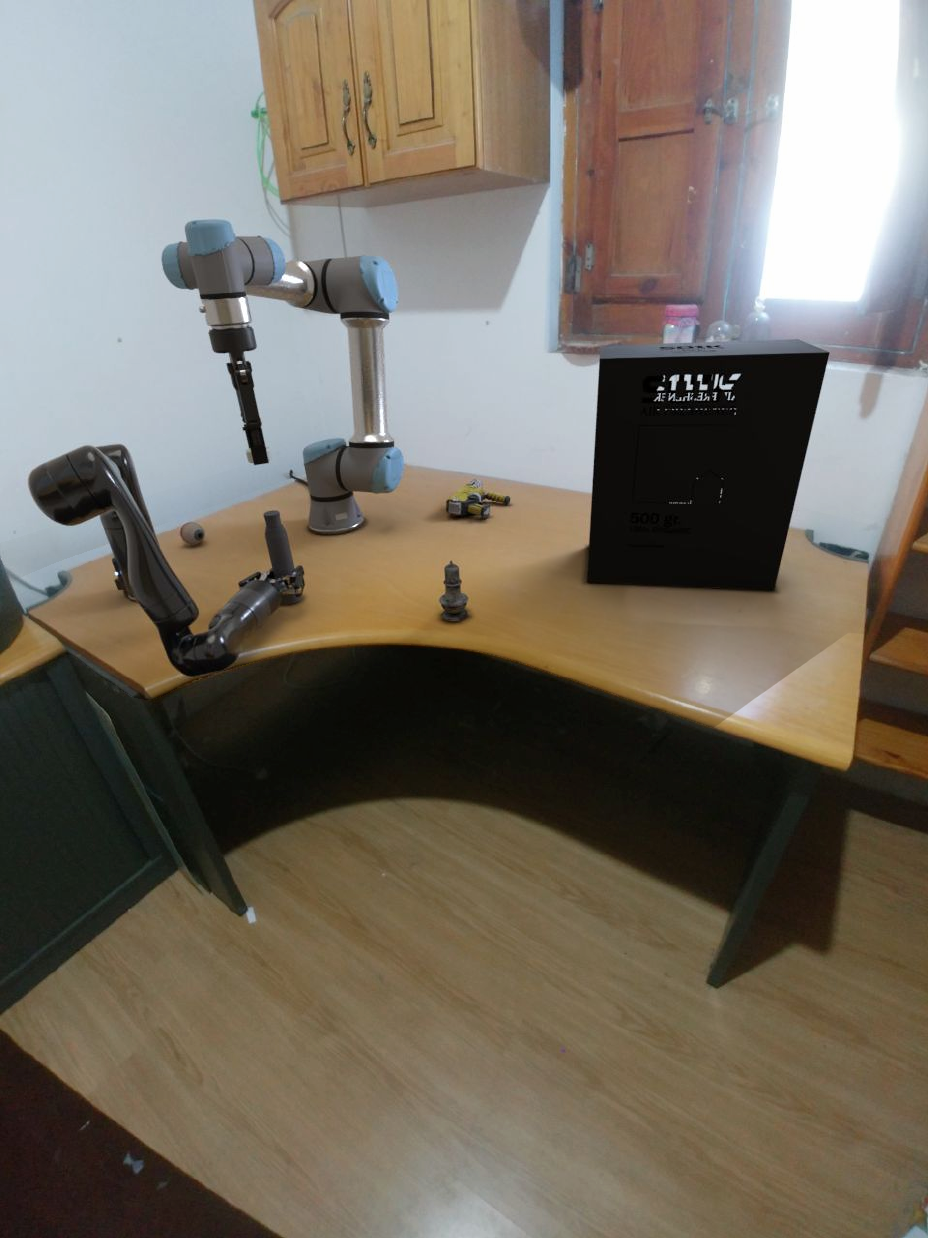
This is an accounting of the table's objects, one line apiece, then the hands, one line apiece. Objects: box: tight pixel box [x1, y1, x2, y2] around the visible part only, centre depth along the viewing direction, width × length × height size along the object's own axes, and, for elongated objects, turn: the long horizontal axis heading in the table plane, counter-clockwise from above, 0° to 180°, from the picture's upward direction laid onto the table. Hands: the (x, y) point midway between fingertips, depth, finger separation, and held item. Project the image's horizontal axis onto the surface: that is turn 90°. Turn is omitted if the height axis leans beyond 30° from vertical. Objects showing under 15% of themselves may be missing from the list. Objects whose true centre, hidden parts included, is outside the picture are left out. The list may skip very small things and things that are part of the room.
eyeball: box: [179, 521, 206, 546], centre depth 161 cm, size 6×6×6 cm
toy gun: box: [445, 478, 511, 520], centre depth 176 cm, size 5×24×15 cm
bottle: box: [262, 509, 302, 606], centre depth 126 cm, size 4×4×20 cm
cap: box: [245, 446, 272, 464], centre depth 116 cm, size 4×4×2 cm
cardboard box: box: [586, 338, 831, 592], centre depth 124 cm, size 38×20×45 cm, turn 78°
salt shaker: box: [438, 560, 469, 622], centre depth 119 cm, size 6×6×12 cm
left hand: (290, 568), depth 130 cm, fingers closed on bottle, 4 cm apart
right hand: (260, 460), depth 116 cm, fingers closed on cap, 4 cm apart
